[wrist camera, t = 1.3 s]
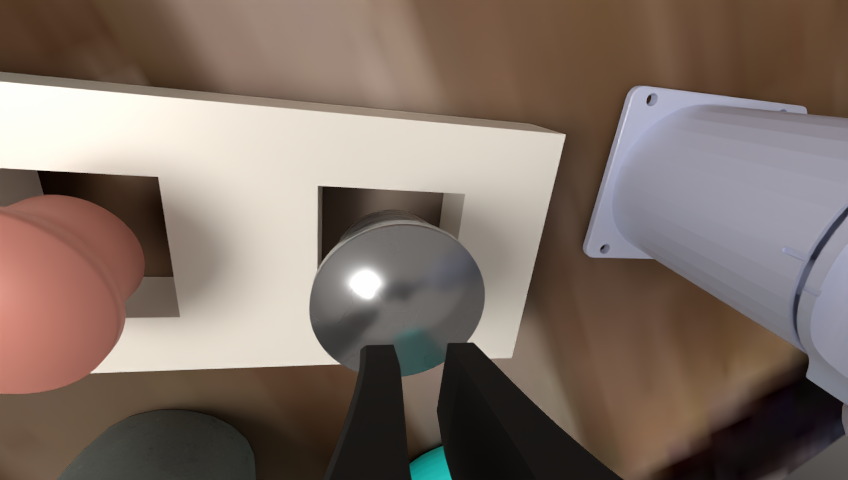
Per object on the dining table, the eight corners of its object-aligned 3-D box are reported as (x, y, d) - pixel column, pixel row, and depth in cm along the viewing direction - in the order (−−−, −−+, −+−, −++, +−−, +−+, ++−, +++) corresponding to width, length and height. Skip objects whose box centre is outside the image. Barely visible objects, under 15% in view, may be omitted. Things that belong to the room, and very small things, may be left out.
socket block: (530, 123, 17) (565, 134, 14) (490, 319, 21) (511, 357, 18) (-122, 59, 12) (-256, 57, 9) (-17, 327, 16) (-91, 379, 13)
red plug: (152, 180, 12) (92, 215, 9) (175, 323, 14) (132, 389, 11) (-61, 168, 11) (-204, 204, 8) (-2, 326, 13) (-100, 399, 10)
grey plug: (468, 197, 14) (499, 229, 11) (448, 319, 16) (470, 374, 13) (316, 189, 13) (308, 222, 10) (316, 322, 15) (309, 380, 12)
